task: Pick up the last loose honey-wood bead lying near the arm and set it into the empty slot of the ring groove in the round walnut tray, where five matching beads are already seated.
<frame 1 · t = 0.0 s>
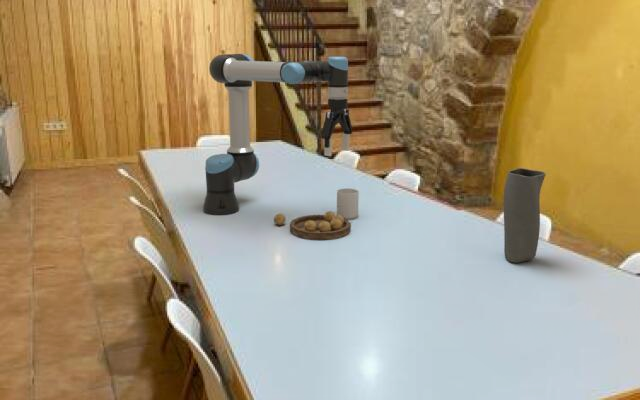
hand: (336, 153, 229), 28 cm above the table, fingers open, 13 cm apart
vase: (517, 259, 197), on the table
bead: (279, 224, 232), on the table
mug: (346, 216, 244), on the table
tray: (320, 230, 225), on the table
seated beads: (328, 223, 223), point 4 cm above the table
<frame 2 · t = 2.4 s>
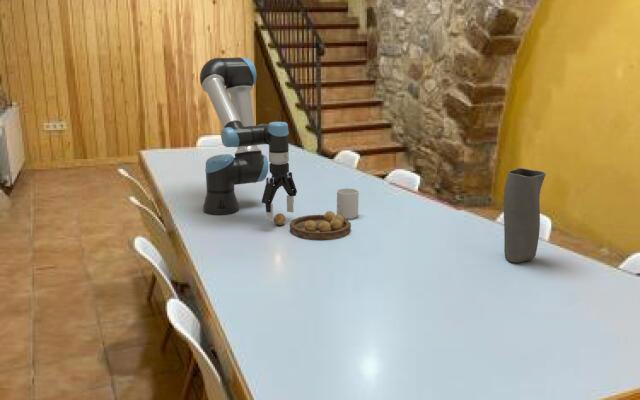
hand: (280, 215, 230), 4 cm above the table, fingers open, 13 cm apart
nothing on the table moved.
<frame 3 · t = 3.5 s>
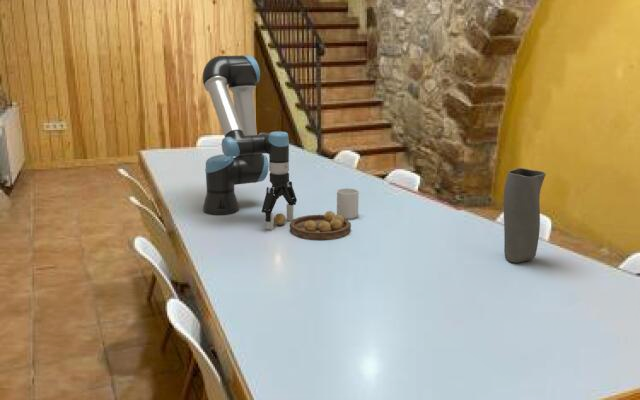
hand: (280, 224, 231), 0 cm above the table, fingers open, 13 cm apart
nothing on the table moved.
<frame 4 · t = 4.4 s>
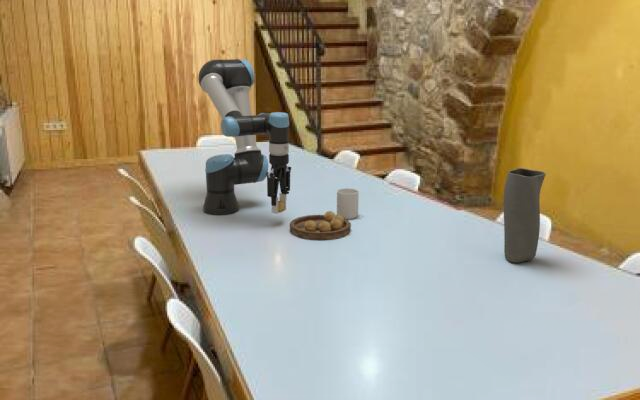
hand: (278, 211, 231), 5 cm above the table, fingers closed on bead, 4 cm apart
bead: (279, 212, 231), point 5 cm above the table, touching gripper
everything else where it was.
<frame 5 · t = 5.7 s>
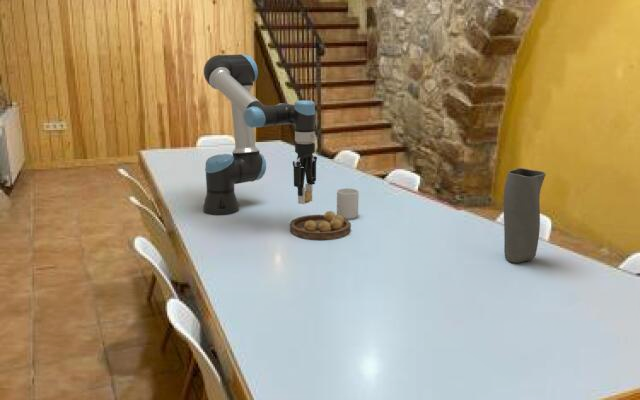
hand: (305, 202, 226), 10 cm above the table, fingers closed on bead, 4 cm apart
bead: (305, 202, 226), point 10 cm above the table, touching gripper
everything else where it was.
when the fingers open (3 cm above the table, at t = 7.8 s): bead stays where it is, resting on tray.
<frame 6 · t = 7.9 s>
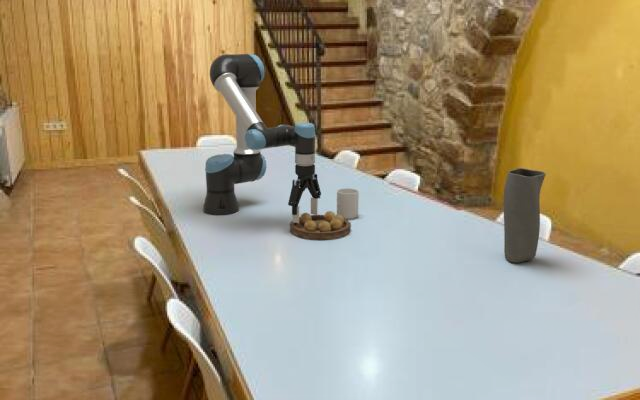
hand: (305, 218, 228), 4 cm above the table, fingers open, 12 cm apart
bead: (305, 224, 228), point 1 cm above the table, touching tray
everything else where it was.
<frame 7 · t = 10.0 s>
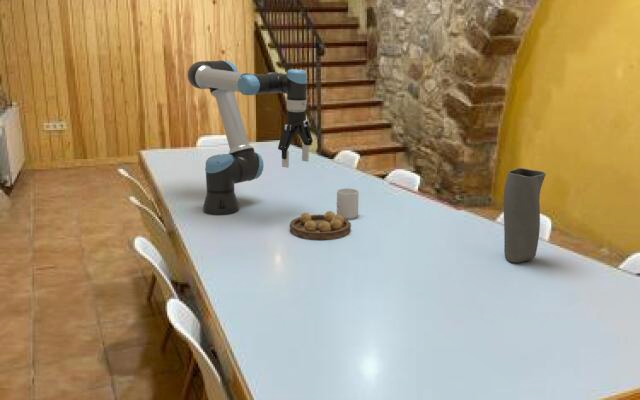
hand: (295, 164, 233), 23 cm above the table, fingers open, 13 cm apart
nothing on the table moved.
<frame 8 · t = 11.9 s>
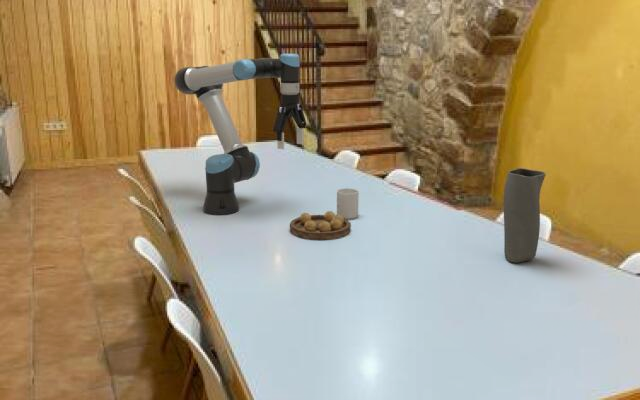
hand: (290, 146, 239), 29 cm above the table, fingers open, 13 cm apart
nothing on the table moved.
at the end: bead inside the target area on the tray (6.7 cm from its centre), point 1.2 cm above the tray's base; the gripper is holding nothing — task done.
